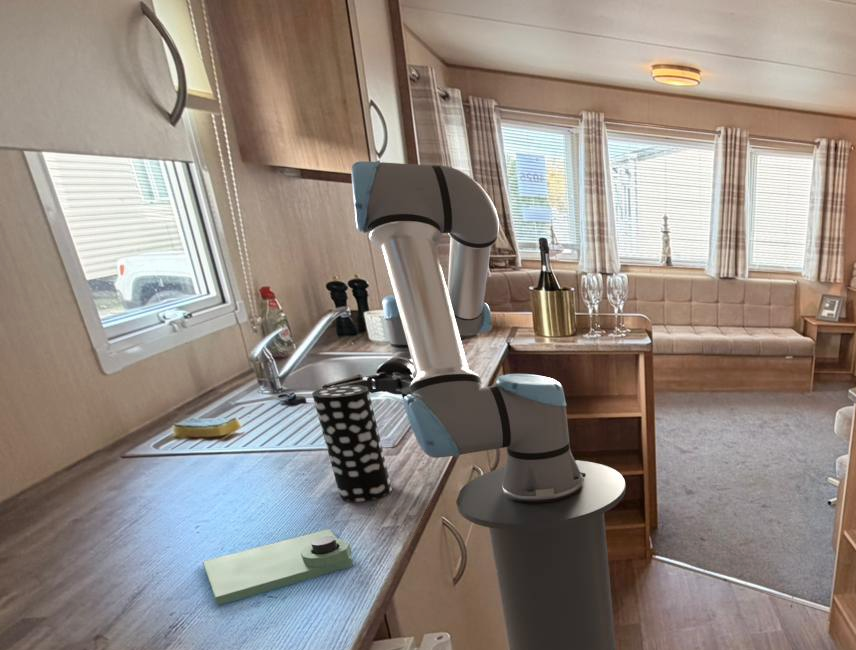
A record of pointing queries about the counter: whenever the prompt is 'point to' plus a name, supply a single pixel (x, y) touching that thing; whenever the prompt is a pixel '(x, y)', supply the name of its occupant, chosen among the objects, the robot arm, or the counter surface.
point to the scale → (273, 567)
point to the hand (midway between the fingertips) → (366, 401)
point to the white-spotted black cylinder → (352, 442)
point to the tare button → (324, 545)
